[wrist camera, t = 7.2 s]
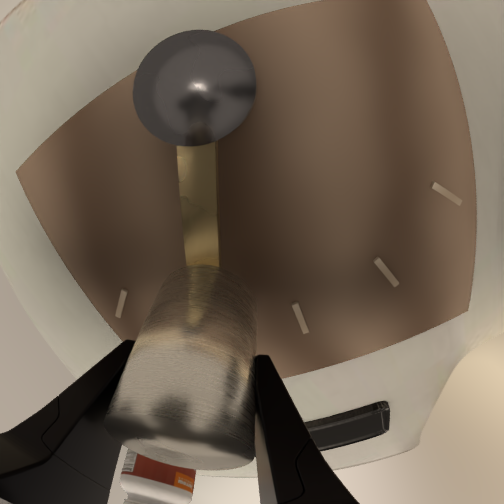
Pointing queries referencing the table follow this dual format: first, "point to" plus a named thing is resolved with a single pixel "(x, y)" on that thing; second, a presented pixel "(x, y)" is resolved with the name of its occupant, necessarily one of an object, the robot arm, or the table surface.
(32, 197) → the wooden serving board
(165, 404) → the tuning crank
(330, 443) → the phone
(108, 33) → the table surface
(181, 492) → the pill bottle
